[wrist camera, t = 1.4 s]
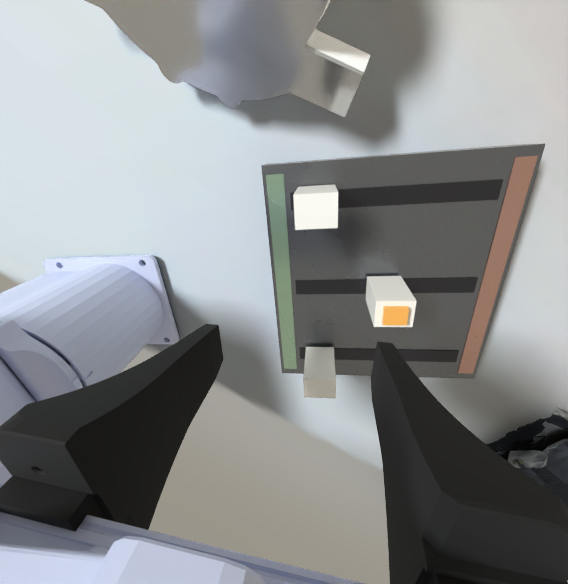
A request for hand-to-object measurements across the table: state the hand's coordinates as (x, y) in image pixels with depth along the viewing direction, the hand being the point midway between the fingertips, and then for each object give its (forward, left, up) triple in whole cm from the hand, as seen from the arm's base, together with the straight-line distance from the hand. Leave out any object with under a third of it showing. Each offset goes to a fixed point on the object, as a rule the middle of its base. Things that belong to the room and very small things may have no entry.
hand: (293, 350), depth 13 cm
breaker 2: (+1, -5, -6) cm, 8 cm away
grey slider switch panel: (+5, 0, -9) cm, 10 cm away
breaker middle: (+5, 0, -6) cm, 8 cm away
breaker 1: (+1, +5, -6) cm, 9 cm away
